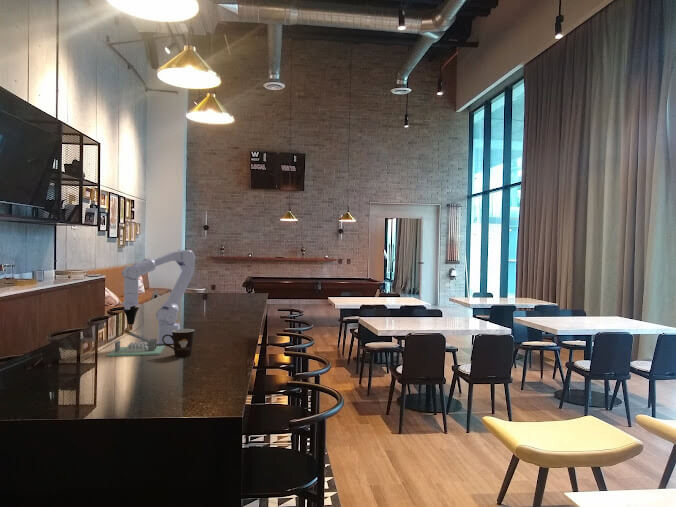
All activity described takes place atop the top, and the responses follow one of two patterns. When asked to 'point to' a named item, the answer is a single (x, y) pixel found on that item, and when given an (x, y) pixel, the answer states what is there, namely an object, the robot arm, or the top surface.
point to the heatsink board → (136, 349)
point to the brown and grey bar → (137, 336)
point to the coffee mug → (181, 342)
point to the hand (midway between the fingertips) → (131, 324)
